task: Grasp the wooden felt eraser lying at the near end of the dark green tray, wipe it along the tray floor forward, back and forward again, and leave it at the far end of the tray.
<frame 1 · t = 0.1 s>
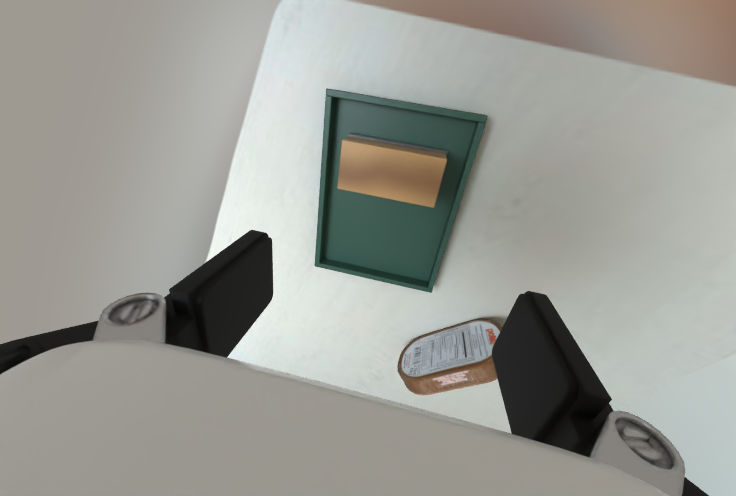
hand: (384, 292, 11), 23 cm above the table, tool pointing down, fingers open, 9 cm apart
tray: (388, 198, 33), on the table
eraser: (394, 165, 30), point 1 cm above the table, touching tray
tin: (448, 331, 40), on the table
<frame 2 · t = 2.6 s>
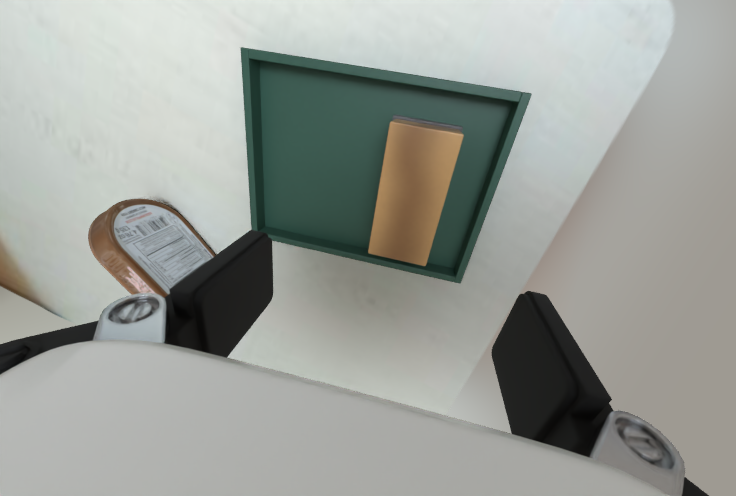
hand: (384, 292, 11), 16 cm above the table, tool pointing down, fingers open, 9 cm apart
tray: (368, 173, 25), on the table
eraser: (413, 184, 24), point 1 cm above the table, touching tray
tin: (204, 247, 32), on the table
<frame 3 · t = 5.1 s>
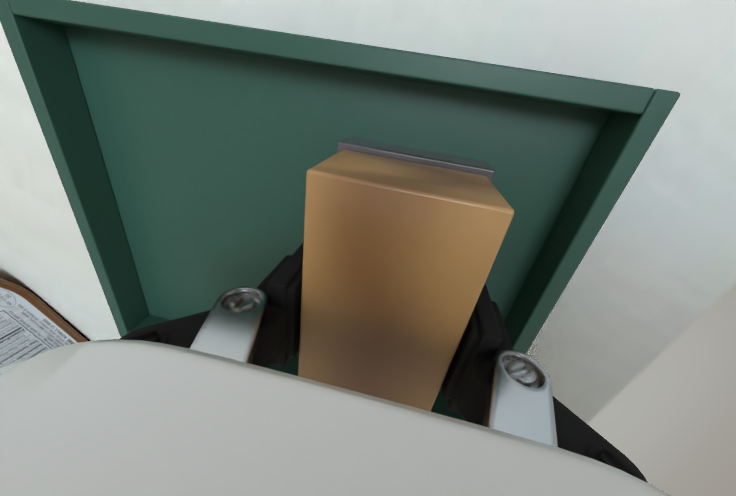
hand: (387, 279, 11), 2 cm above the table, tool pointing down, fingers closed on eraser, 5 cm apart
tray: (309, 240, 13), on the table
eraser: (390, 265, 12), point 1 cm above the table, touching gripper, tray
tin: (77, 332, 21), on the table
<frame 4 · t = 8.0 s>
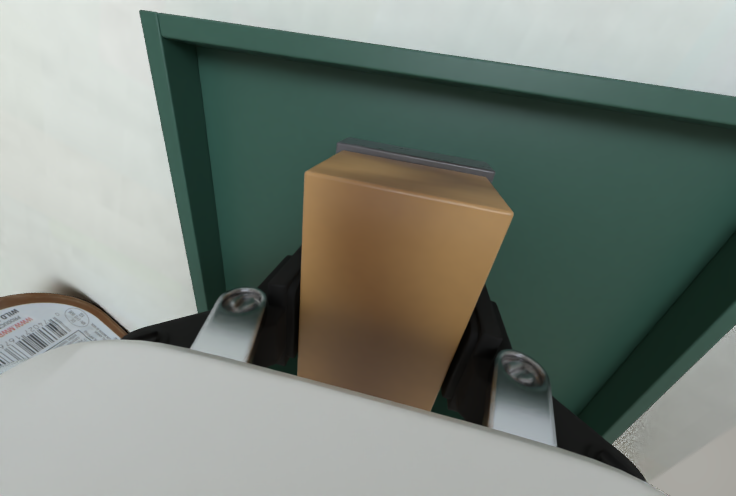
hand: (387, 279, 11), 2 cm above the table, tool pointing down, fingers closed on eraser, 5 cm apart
tray: (420, 265, 13), on the table
eraser: (390, 266, 12), point 1 cm above the table, touching gripper
tin: (142, 349, 20), on the table
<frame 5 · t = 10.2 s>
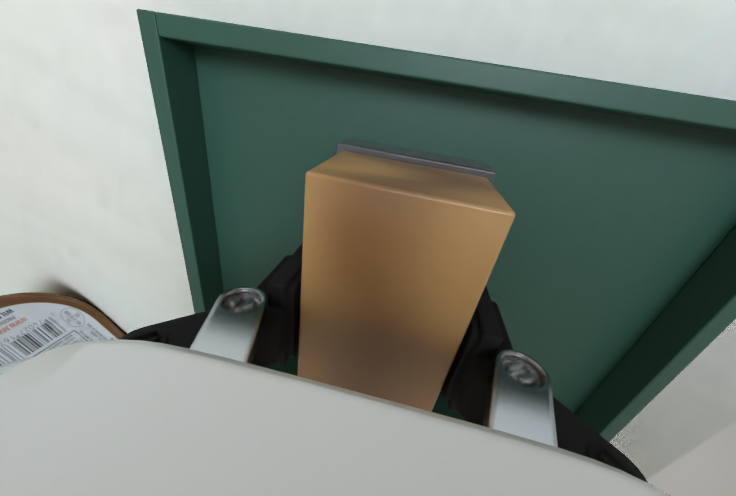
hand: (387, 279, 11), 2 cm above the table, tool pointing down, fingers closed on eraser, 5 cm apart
tray: (418, 265, 13), on the table
eraser: (390, 267, 12), point 1 cm above the table, touching gripper
tin: (139, 350, 20), on the table
when the fingers open (2 cm above the table, at t = 11.3 s): eraser stays where it is, resting on tray.
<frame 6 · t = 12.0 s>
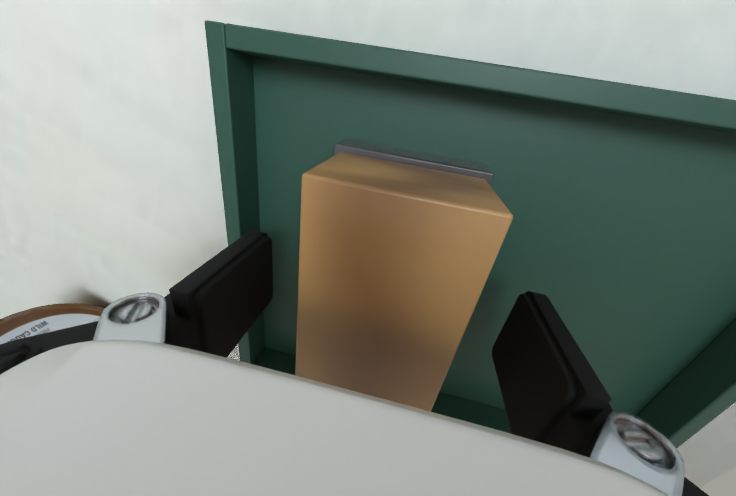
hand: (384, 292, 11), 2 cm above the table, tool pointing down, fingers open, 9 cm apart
tray: (468, 278, 13), on the table
eraser: (388, 268, 12), point 1 cm above the table, touching tray
tin: (167, 359, 20), on the table
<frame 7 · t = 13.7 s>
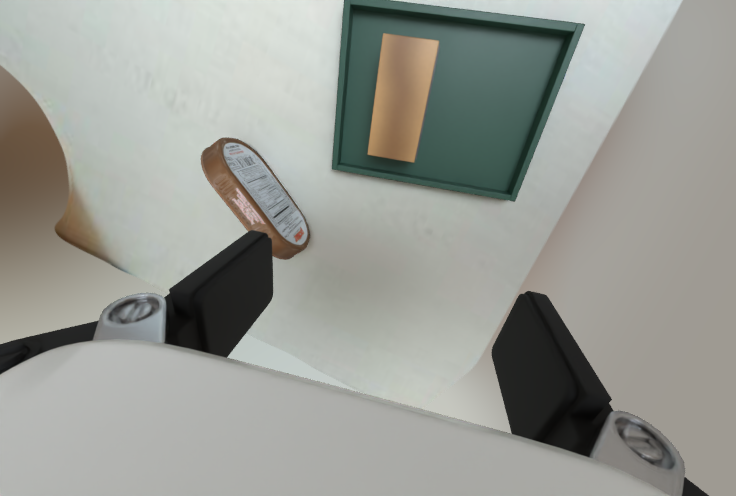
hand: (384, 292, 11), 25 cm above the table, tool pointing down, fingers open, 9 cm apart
tray: (437, 108, 29), on the table
eraser: (402, 103, 29), point 1 cm above the table, touching tray
tin: (279, 189, 37), on the table
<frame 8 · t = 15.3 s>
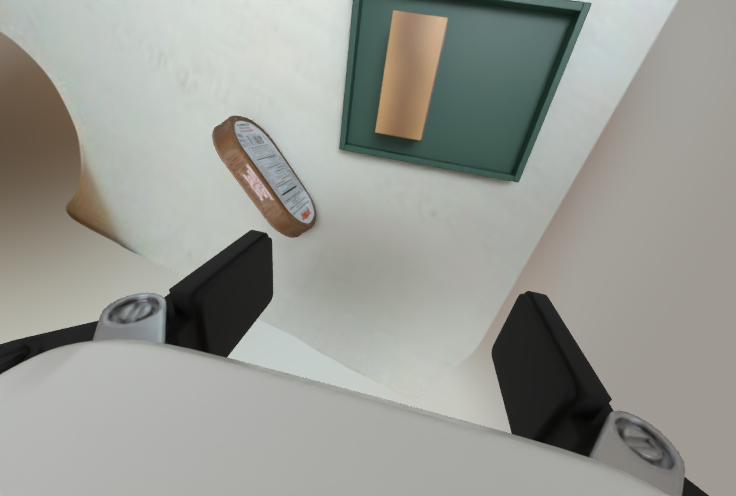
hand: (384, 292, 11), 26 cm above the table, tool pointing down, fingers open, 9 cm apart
tray: (443, 88, 30), on the table
eraser: (410, 83, 30), point 1 cm above the table, touching tray
tin: (286, 170, 37), on the table
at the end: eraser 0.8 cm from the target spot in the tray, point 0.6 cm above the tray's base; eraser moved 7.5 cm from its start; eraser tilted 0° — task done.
